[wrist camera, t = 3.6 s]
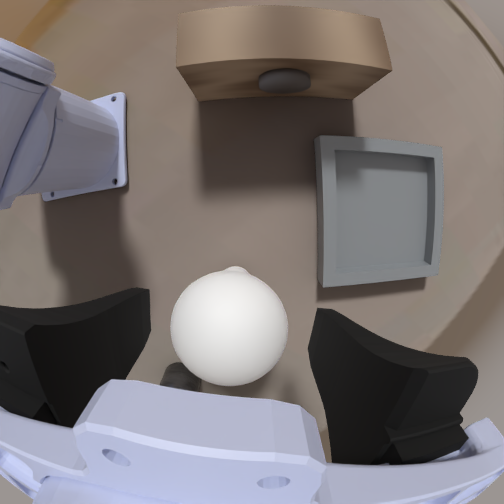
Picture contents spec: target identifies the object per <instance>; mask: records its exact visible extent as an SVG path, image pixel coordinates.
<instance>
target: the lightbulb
mask: <svg viewBox="0 0 504 504" xmlns="http://www.w3.org/2000/svg"><path fill="white" fill-rule="evenodd" d="M170 331H171V338H172V343H173V346H174V349H175V352H176V354H177V355H178V357H179V359H180V360H181V362H182V363H183V364H184V365H185V366H186V367H187V368H188V369H189V371H191V372H192V373H193V374H195V375H196V376H197V377H199V378H201V379H203V380H205V381H207V382H210V383H213V384H216V385H222V386H237V385H243V384H247V383H250V382H253V381H255V380H257V379H259V378H261V377H262V376H263V375H265V374H266V373H267V372H269V371H270V370H271V369H272V368H273V367H274V366H275V365H276V364H277V362H278V360H279V359H280V357H281V355H282V353H283V351H284V349H285V345H286V342H287V336H288V321H287V315H286V312H285V309H284V307H283V304H282V302H281V300H280V299H279V297H278V296H277V295H276V293H275V292H274V291H273V290H272V289H271V288H270V287H269V286H268V285H267V284H266V283H264V282H263V281H261V280H260V279H258V278H257V277H255V276H252V275H250V274H249V273H248V271H247V270H245V269H244V268H241V267H238V266H233V267H229V268H227V269H225V270H224V271H219V272H213V273H211V274H208V275H205V276H203V277H201V278H199V279H198V280H196V281H195V282H193V283H192V284H190V285H189V286H188V287H187V288H186V289H185V290H184V291H183V292H182V294H181V296H180V297H179V299H178V300H177V302H176V304H175V306H174V309H173V312H172V317H171V327H170Z"/></svg>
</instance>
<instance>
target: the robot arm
mask: <svg viewBox="0 0 504 504" xmlns="http://www.w3.org/2000/svg"><path fill="white" fill-rule="evenodd" d="M55 77H56V73H55V72H54V63H53V62H51V61H49V60H47V59H45V58H43V57H41V56H39V55H37V54H35V53H33V52H31V51H29V50H27V49H25V48H23V47H21V46H18V45H16V44H14V43H11V42H9V41H7V40H5V39H3V38H0V210H2V209H7V208H10V207H11V205H12V202H13V201H14V199H15V198H16V197H17V196H21V195H28V194H36V193H42V199H43V200H44V201H50V200H55V199H59V198H64V197H69V196H74V195H79V194H84V193H89V192H94V191H100V190H106V189H111V188H118V187H123V186H125V185H126V184H127V180H128V179H127V161H126V95H125V94H124V93H122V92H119V93H115V94H111V95H108V96H105V97H101V98H98V99H95V100H92V101H88V100H86V99H84V98H81V97H79V96H77V95H74V94H72V93H70V92H67V91H65V90H62V89H60V88H57V87H55V86H52V85H50V84H51V83H52V82H53V80H54V79H55ZM115 97H116V100H115V101H114V102H113V99H114V98H115ZM115 179H117V180H118V182H117V184H115V183H114V180H115ZM53 192H54V196H53ZM150 332H151V322H150V293H149V289H143V288H131V289H127V290H124V291H121V292H117V293H114V294H111V295H108V296H105V297H102V298H99V299H95V300H92V301H88V302H85V303H81V304H76V305H70V306H64V307H55V308H42V309H31V308H15V307H8V306H1V305H0V475H2V476H3V477H4V478H5V479H6V480H8V481H9V482H10V483H11V484H13V485H14V486H15V487H17V488H18V489H19V490H21V491H22V492H23V493H25V494H26V495H28V496H29V497H30V498H32V499H33V500H34V501H33V503H32V504H466V503H468V502H469V501H471V500H473V499H474V498H476V497H477V496H478V495H479V494H481V493H482V492H483V491H484V490H485V489H486V488H487V487H488V486H489V485H491V483H493V482H494V481H495V480H496V479H497V478H498V477H499V476H500V475H501V474H502V473H503V472H504V437H503V436H502V434H501V433H500V432H499V430H498V429H497V428H496V427H495V426H494V424H493V423H492V422H491V420H490V419H489V418H488V417H487V418H484V419H482V420H480V421H477V422H475V423H473V424H471V425H469V426H467V427H466V428H465V429H464V430H463V429H462V427H461V426H460V424H461V423H462V422H463V417H462V416H461V415H460V411H461V410H462V408H463V407H464V405H465V404H466V402H467V400H468V399H469V397H470V395H471V394H472V392H473V390H474V388H475V386H476V383H477V379H478V369H477V367H476V366H475V365H474V364H473V363H472V362H471V361H470V360H469V359H468V358H465V357H453V356H443V355H436V354H431V353H426V352H422V351H418V350H414V349H411V348H408V347H404V346H402V345H399V344H396V343H394V342H391V341H389V340H387V339H384V338H382V337H380V336H378V335H376V334H374V333H372V332H371V331H369V330H367V329H365V328H363V327H362V326H360V325H358V324H357V323H355V322H353V321H352V320H350V319H349V318H347V317H345V316H344V315H342V314H340V313H338V312H337V311H335V310H332V309H324V308H317V312H316V316H315V320H314V325H313V329H312V333H311V337H310V342H309V346H308V352H309V359H310V365H311V368H312V372H313V375H314V378H315V381H316V384H317V387H318V390H319V393H320V396H321V399H322V402H323V406H324V409H325V414H326V419H327V425H328V431H329V439H330V447H331V456H332V463H328V462H326V460H325V456H324V452H323V448H322V444H321V440H320V435H319V431H318V427H317V423H316V419H315V418H314V417H313V416H311V415H310V414H309V413H308V412H307V411H306V410H304V409H303V408H302V407H301V406H300V405H295V404H290V403H286V402H281V401H277V400H272V399H259V398H245V397H234V396H224V395H216V394H208V393H201V392H194V391H188V390H182V389H176V388H170V387H165V386H160V385H155V384H150V383H146V382H141V381H137V380H125V379H126V377H127V375H128V374H129V372H130V370H131V369H132V367H133V365H134V364H135V362H136V360H137V359H138V357H139V355H140V354H141V352H142V350H143V349H144V347H145V344H146V342H147V340H148V337H149V334H150Z"/></svg>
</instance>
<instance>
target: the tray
mask: <svg viewBox="0 0 504 504" xmlns="http://www.w3.org/2000/svg"><path fill="white" fill-rule="evenodd" d="M314 145H315V162H316V183H317V215H318V281H319V282H320V284H321V285H322V287H334V286H345V285H356V284H366V283H376V282H385V281H394V280H403V279H412V278H420V277H428V276H435V275H438V271H439V263H440V254H441V244H442V231H443V210H444V175H443V155H442V147H438V146H432V145H426V144H419V143H412V142H404V141H396V140H387V139H376V138H364V137H349V136H326V135H320V136H318V137H317V138H315V139H314Z"/></svg>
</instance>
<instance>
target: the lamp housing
mask: <svg viewBox="0 0 504 504" xmlns="http://www.w3.org/2000/svg"><path fill="white" fill-rule="evenodd" d="M176 68H177V69H178V71H179V72H180V74H181V75H182V77H183V78H184V80H185V81H186V83H187V84H188V86H189V87H190V89H191V90H192V92H193V94H194V95H195V97H196V98H197V100H198V101H208V100H218V99H229V98H244V97H268V96H301V97H325V98H340V99H351V100H353V99H354V98H355V97H357V96H358V95H359V94H361V93H362V92H363V91H365V90H366V89H368V88H369V87H370V86H372V85H373V84H374V83H376V82H377V81H378V80H380V79H381V78H383V77H384V76H385V75H387V74H388V73H390V72H391V71H392V66H391V61H390V56H389V52H388V48H387V44H386V40H385V36H384V32H383V29H382V25H381V22H380V19H378V18H374V17H369V16H365V15H360V14H355V13H349V12H343V11H337V10H329V9H321V8H312V7H299V6H276V5H258V6H235V7H222V8H213V9H204V10H197V11H191V12H185V13H179V14H178V25H177V46H176Z"/></svg>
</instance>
